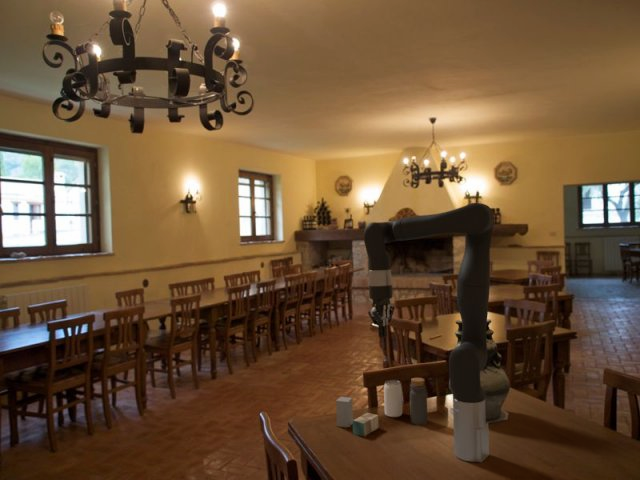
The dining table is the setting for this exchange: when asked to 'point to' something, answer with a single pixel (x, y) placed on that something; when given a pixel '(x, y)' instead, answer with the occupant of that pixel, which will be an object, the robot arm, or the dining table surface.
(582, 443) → the dining table surface
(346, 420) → the grey block
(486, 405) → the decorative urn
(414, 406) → the bottle
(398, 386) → the can
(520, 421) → the dining table surface
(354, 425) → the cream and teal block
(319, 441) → the dining table surface
